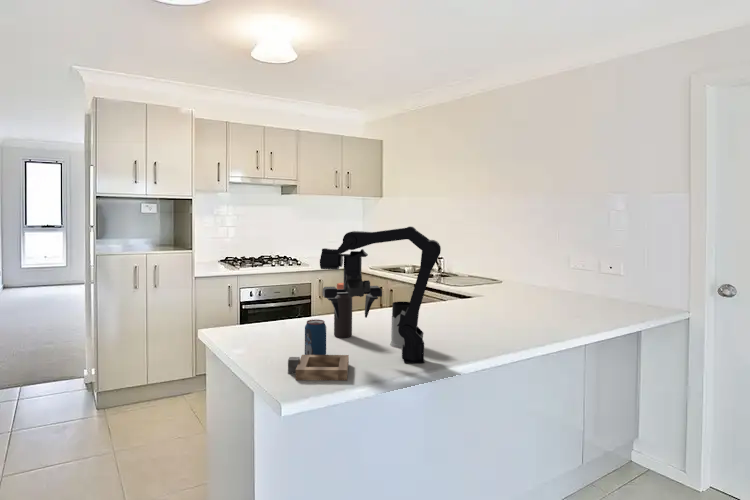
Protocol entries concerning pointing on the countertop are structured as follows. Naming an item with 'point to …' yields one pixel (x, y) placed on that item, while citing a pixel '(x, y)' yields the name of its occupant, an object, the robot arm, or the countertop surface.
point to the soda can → (315, 337)
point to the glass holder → (396, 311)
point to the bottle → (343, 315)
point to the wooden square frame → (319, 367)
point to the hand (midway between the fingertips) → (351, 317)
